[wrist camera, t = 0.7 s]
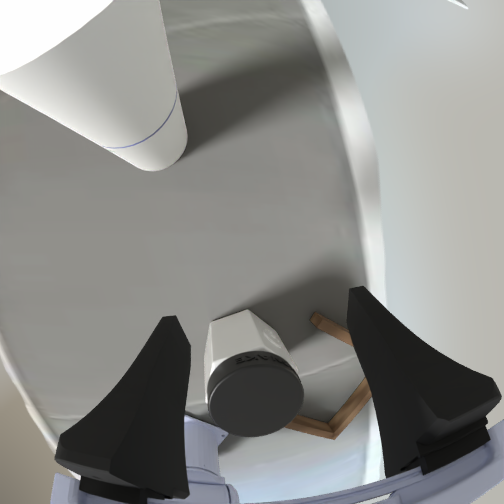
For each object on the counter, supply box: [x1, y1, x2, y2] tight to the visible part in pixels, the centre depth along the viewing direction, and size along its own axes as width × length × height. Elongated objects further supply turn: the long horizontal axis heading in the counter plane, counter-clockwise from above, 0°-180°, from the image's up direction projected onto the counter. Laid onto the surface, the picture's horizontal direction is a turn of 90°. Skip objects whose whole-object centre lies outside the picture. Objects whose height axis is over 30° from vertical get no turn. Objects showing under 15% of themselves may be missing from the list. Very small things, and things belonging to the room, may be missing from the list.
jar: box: [204, 309, 304, 437], centre depth 27 cm, size 9×8×12 cm
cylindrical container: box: [0, 0, 188, 171], centre depth 16 cm, size 7×7×25 cm
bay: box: [285, 312, 372, 440], centre depth 35 cm, size 15×15×2 cm
